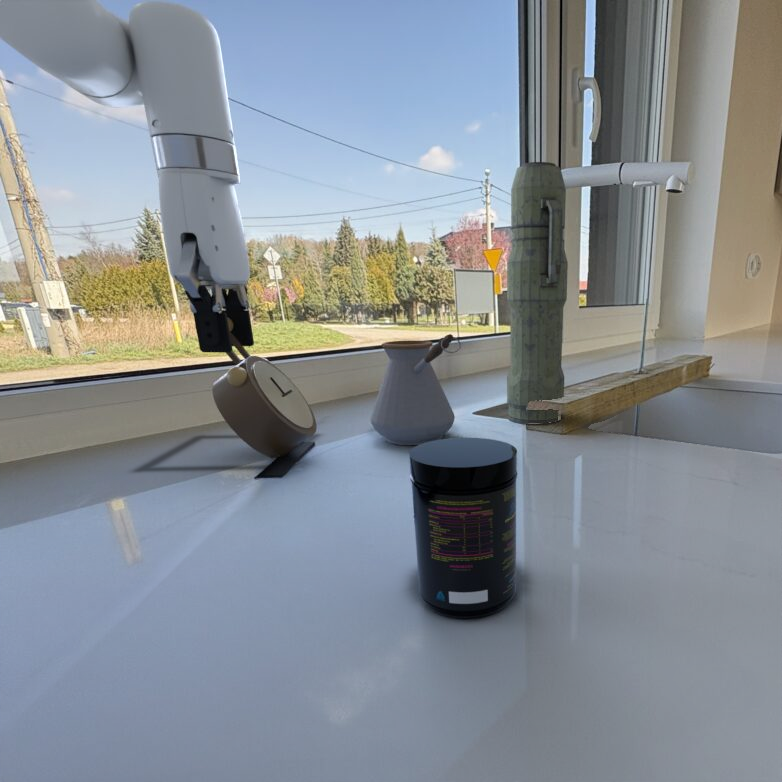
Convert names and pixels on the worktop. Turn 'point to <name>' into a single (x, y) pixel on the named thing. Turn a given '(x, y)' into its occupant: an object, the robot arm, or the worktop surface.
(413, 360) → the coffee pot
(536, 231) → the thermos
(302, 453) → the mat
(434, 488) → the supplement container
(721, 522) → the worktop surface
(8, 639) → the worktop surface
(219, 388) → the clock
